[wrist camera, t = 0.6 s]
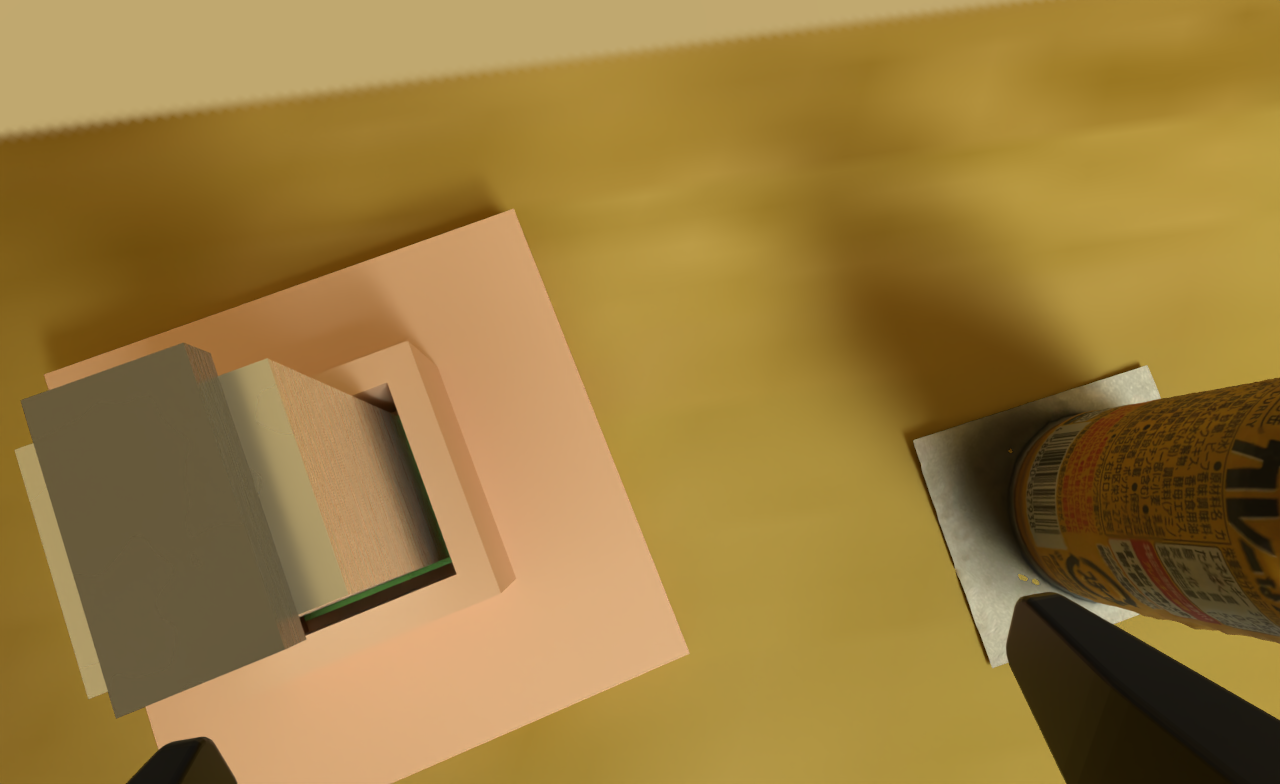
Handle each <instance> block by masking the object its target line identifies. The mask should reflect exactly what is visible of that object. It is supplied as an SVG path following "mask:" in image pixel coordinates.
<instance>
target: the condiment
mask: <svg viewBox="0 0 1280 784" xmlns="http://www.w3.org/2000/svg"><path fill="white" fill-rule="evenodd" d="M913 442H914V445H915V449H916V452H917V455H918V458H919V460H920V463H921V468H922V473H923V475H924V478H925V480H926V483H927V486H928V490H929V493H930V495H931V499H932V501H933V504H934V506H935V509H936V512H937V516H938V520H939V523H940V525H941V528H942V531H943V533H944V537H945V539H946V542H947V545H948V547H949V550H950V553H951V556H952V558H953V562H954V565H955V569H956V574H957V576H958V577H959V579H960V582H961V584H962V586H963V588H964V591H965V594H966V596H967V599H968V602H969V605H970V608H971V612H972V615H973V618H974V621H975V624H976V626H977V628H978V630H979V633H980V635H981V638H982V641H983V643H984V646H985V649H986V652H987V655H988V657H989V660H990V663H991V666H992V668H994V667H997V666H1000V665H1003V664H1005V663H1008V659H1007V654H1006V642H1007V637H1008V633H1009V629H1010V624H1011V620H1012V616H1013V611H1014V607H1015V604H1016V602H1017V601H1018V600H1019V598H1020V597H1023V596H1027V595H1032V594H1038V593H1044V592H1055V593H1058V594H1061V595H1063V596H1065V597H1067V598H1068V599H1070V600H1072V601H1074V602H1075V603H1077V604H1079V605H1081V606H1082V607H1084V608H1086V609H1087V610H1089V611H1091V612H1093V613H1094V614H1096V615H1098V616H1100V617H1101V618H1103V619H1105V620H1107V621H1108V622H1110V623H1112V624H1115V623H1118V622H1120V621H1123V620H1126V619H1128V618H1131V617H1134V616H1137V615H1140V614H1141V615H1143V616H1148V617H1153V618H1156V619H1162V620H1172V621H1177V622H1180V623H1182V624H1185V625H1187V626H1189V627H1191V628H1193V629H1206V630H1219V631H1221V632H1223V633H1225V634H1230V635H1244V636H1251V637H1255V638H1258V639H1262V640H1267V641H1272V642H1277V643H1280V378H1274V379H1268V380H1264V381H1260V382H1254V383H1250V384H1242V385H1238V386H1232V387H1226V388H1222V389H1215V390H1210V391H1204V392H1198V393H1192V394H1190V393H1189V394H1186V395H1181V396H1174V397H1171V398H1163V399H1161V398H1160V395H1159V392H1158V389H1157V387H1156V384H1155V382H1154V380H1153V377H1152V375H1151V373H1150V371H1149V368H1148V366H1147V365H1146V366H1143V367H1140V368H1137V369H1134V370H1131V371H1128V372H1124V373H1121V374H1118V375H1115V376H1112V377H1109V378H1105V379H1102V380H1099V381H1096V382H1093V383H1090V384H1087V385H1084V386H1080V387H1077V388H1074V389H1071V390H1068V391H1065V392H1061V393H1058V394H1056V395H1052V396H1049V397H1046V398H1043V399H1040V400H1037V401H1034V402H1030V403H1027V404H1024V405H1021V406H1018V407H1015V408H1012V409H1009V410H1007V411H1003V412H1000V413H996V414H993V415H990V416H987V417H984V418H981V419H978V420H974V421H971V422H967V423H965V424H962V425H959V426H956V427H953V428H950V429H947V430H944V431H941V432H937V433H934V434H931V435H928V436H925V437H922V438H919V439H915V440H913ZM1009 449H1012V451H1013V453H1009V452H1008V450H1009ZM1018 574H1022V575H1025V576H1026V577H1027V578H1028V580H1027V581H1023V580H1020V579H1019V577H1018ZM1034 578H1035V579H1037V580H1038V581H1039V583H1040V585H1037V586H1036V585H1035V584H1033V583H1032V579H1034Z"/></svg>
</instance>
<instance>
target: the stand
mask: <svg viewBox="0 0 1280 784" xmlns="http://www.w3.org/2000/svg"><path fill="white" fill-rule="evenodd" d="M181 343H186V344H189V345H191V346H194V347H196V348H199V349H201V350H204V351H206V352H209V353H211V356H212V359H213V362H214V365H215V368H216V371H217V374H218V376H220V375H222V374H225V373H228V372H231V371H233V370H236V369H239V368H242V367H244V366H247V365H250V364H253V363H255V362H258V361H261V360H264V359H266V358H268V359H270V360H272V361H275V362H277V363H279V364H281V365H284V366H286V367H288V368H290V369H293V370H295V371H297V372H299V373H302V374H304V375H306V376H308V377H311V378H313V379H315V380H317V381H320V382H322V383H324V384H326V385H329V386H331V387H333V388H335V389H338V390H340V391H342V392H344V393H347V394H349V395H351V396H353V397H356V398H358V399H360V400H362V401H365V402H367V403H369V404H371V405H374V406H376V407H378V408H380V409H382V410H385V411H387V412H389V413H391V414H394V415H396V416H398V415H399V417H400V419H401V422H402V425H403V428H404V430H405V433H406V436H407V439H408V441H409V444H410V447H411V450H412V452H413V455H414V458H415V461H416V463H417V466H418V469H419V472H420V474H421V477H422V480H423V483H424V486H425V488H426V491H427V494H428V497H429V499H430V502H431V505H432V508H433V510H434V513H435V516H436V519H437V521H438V524H439V527H440V530H441V532H442V535H443V538H444V541H445V543H446V546H447V549H448V552H449V554H450V557H451V560H452V562H451V563H449V564H446V565H444V566H441V567H439V568H437V569H434V570H432V571H429V572H427V573H424V574H422V575H419V576H417V577H414V578H412V579H409V580H407V581H404V582H402V583H400V584H397V585H395V586H392V587H390V588H387V589H385V590H382V591H380V592H377V593H375V594H372V595H370V596H367V597H365V598H362V599H360V600H358V601H355V602H353V603H350V604H348V605H345V606H343V607H340V608H338V609H335V610H333V611H330V612H328V613H325V614H323V615H321V616H318V617H316V618H313V619H311V620H308V621H306V622H305V619H304V616H303V617H300V618H299V619H300V622H301V625H302V628H303V631H304V634H305V637H306V640H305V641H302V642H300V643H298V644H296V645H294V646H292V647H290V648H288V649H286V650H283V651H281V652H278V653H276V654H273V655H271V656H268V657H266V658H264V659H261V660H259V661H256V662H254V663H251V664H249V665H246V666H244V667H241V668H239V669H237V670H234V671H232V672H229V673H227V674H224V675H222V676H219V677H217V678H215V679H212V680H210V681H207V682H205V683H202V684H200V685H197V686H195V687H192V688H190V689H188V690H185V691H183V692H180V693H178V694H175V695H173V696H170V697H168V698H166V699H163V700H161V701H158V702H156V703H153V704H151V705H148V706H146V710H147V713H148V717H149V720H150V723H151V727H152V730H153V733H154V736H155V740H156V743H157V746H158V750H159V749H160V748H162V747H163V746H164V745H166V744H168V743H170V742H174V741H178V740H184V739H190V738H196V737H207V738H209V739H211V740H213V742H214V743H215V745H216V746H217V748H218V750H219V751H220V753H221V755H222V756H223V758H224V760H225V761H226V763H227V765H228V766H229V768H230V770H231V771H232V773H233V775H234V776H235V778H236V780H237V783H238V784H391V783H394V782H396V781H398V780H400V779H403V778H405V777H407V776H410V775H412V774H414V773H417V772H419V771H421V770H423V769H426V768H428V767H430V766H433V765H435V764H437V763H439V762H442V761H444V760H446V759H449V758H451V757H453V756H456V755H458V754H460V753H462V752H465V751H467V750H469V749H472V748H474V747H476V746H478V745H481V744H483V743H485V742H488V741H490V740H492V739H495V738H497V737H499V736H501V735H504V734H506V733H508V732H511V731H513V730H515V729H518V728H520V727H522V726H524V725H527V724H529V723H531V722H534V721H536V720H538V719H540V718H543V717H545V716H547V715H550V714H552V713H554V712H557V711H559V710H561V709H563V708H566V707H568V706H570V705H573V704H575V703H577V702H579V701H582V700H584V699H586V698H589V697H591V696H593V695H596V694H598V693H600V692H602V691H605V690H607V689H609V688H612V687H614V686H616V685H619V684H621V683H623V682H625V681H628V680H630V679H632V678H635V677H637V676H639V675H641V674H644V673H646V672H648V671H651V670H653V669H655V668H658V667H660V666H662V665H664V664H667V663H669V662H671V661H674V660H676V659H678V658H680V657H683V656H685V655H687V654H690V653H689V651H688V648H687V645H686V643H685V640H684V638H683V635H682V633H681V630H680V628H679V625H678V623H677V620H676V618H675V615H674V613H673V610H672V608H671V605H670V603H669V600H668V597H667V595H666V592H665V590H664V587H663V585H662V582H661V580H660V577H659V575H658V572H657V570H656V567H655V565H654V562H653V560H652V557H651V555H650V552H649V549H648V547H647V544H646V542H645V539H644V537H643V534H642V532H641V529H640V527H639V524H638V522H637V519H636V517H635V514H634V512H633V509H632V507H631V504H630V501H629V499H628V496H627V494H626V491H625V489H624V486H623V484H622V481H621V479H620V476H619V474H618V471H617V469H616V466H615V464H614V461H613V459H612V456H611V453H610V451H609V448H608V446H607V443H606V441H605V438H604V436H603V433H602V431H601V428H600V426H599V423H598V421H597V418H596V416H595V413H594V411H593V408H592V405H591V403H590V400H589V398H588V395H587V393H586V390H585V388H584V385H583V383H582V380H581V378H580V375H579V373H578V370H577V368H576V365H575V363H574V360H573V357H572V355H571V352H570V350H569V347H568V345H567V342H566V340H565V337H564V335H563V332H562V330H561V327H560V325H559V322H558V320H557V317H556V315H555V312H554V309H553V307H552V304H551V302H550V299H549V297H548V294H547V292H546V289H545V287H544V284H543V282H542V279H541V277H540V274H539V272H538V269H537V267H536V264H535V261H534V259H533V256H532V254H531V251H530V249H529V246H528V244H527V241H526V239H525V236H524V234H523V231H522V229H521V226H520V224H519V221H518V219H517V216H516V213H515V211H514V209H511V210H509V211H506V212H503V213H500V214H497V215H495V216H492V217H489V218H486V219H483V220H480V221H478V222H475V223H472V224H469V225H466V226H463V227H461V228H458V229H455V230H452V231H449V232H446V233H444V234H441V235H438V236H435V237H432V238H429V239H427V240H424V241H421V242H418V243H415V244H412V245H410V246H407V247H404V248H401V249H398V250H395V251H393V252H390V253H387V254H384V255H381V256H378V257H376V258H373V259H370V260H367V261H364V262H361V263H359V264H356V265H353V266H350V267H347V268H344V269H342V270H339V271H336V272H333V273H330V274H327V275H325V276H322V277H319V278H316V279H313V280H310V281H308V282H305V283H302V284H299V285H296V286H293V287H291V288H288V289H285V290H282V291H279V292H276V293H274V294H271V295H268V296H265V297H262V298H259V299H257V300H254V301H251V302H248V303H245V304H242V305H240V306H237V307H234V308H231V309H228V310H225V311H223V312H220V313H217V314H214V315H211V316H208V317H206V318H203V319H200V320H197V321H194V322H191V323H189V324H186V325H183V326H180V327H177V328H174V329H172V330H169V331H166V332H163V333H160V334H157V335H155V336H152V337H149V338H146V339H143V340H140V341H138V342H135V343H132V344H129V345H126V346H123V347H121V348H118V349H115V350H112V351H109V352H106V353H104V354H101V355H98V356H95V357H92V358H89V359H87V360H84V361H81V362H78V363H75V364H72V365H70V366H67V367H64V368H61V369H58V370H55V371H53V372H50V373H47V374H44V376H45V380H46V383H47V386H48V389H49V390H51V389H54V388H57V387H60V386H63V385H65V384H68V383H71V382H74V381H77V380H79V379H82V378H85V377H88V376H91V375H93V374H96V373H99V372H102V371H105V370H107V369H110V368H113V367H116V366H119V365H122V364H124V363H127V362H130V361H133V360H136V359H138V358H141V357H144V356H147V355H150V354H152V353H155V352H158V351H161V350H164V349H167V348H169V347H172V346H175V345H178V344H181Z"/></svg>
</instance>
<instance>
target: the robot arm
mask: <svg viewBox="0 0 1280 784" xmlns="http://www.w3.org/2000/svg"><path fill="white" fill-rule="evenodd" d="M1006 654H1007V659H1008V662H1009V665H1010V667H1011V670H1012V672H1013V674H1014V676H1015V678H1016V680H1017V682H1018V684H1019V686H1020V688H1021V691H1022V693H1023V695H1024V697H1025V699H1026V701H1027V703H1028V705H1029V707H1030V709H1031V711H1032V713H1033V716H1034V718H1035V720H1036V722H1037V724H1038V726H1039V728H1040V730H1041V732H1042V734H1043V736H1044V739H1045V741H1046V743H1047V745H1048V747H1049V749H1050V751H1051V753H1052V755H1053V757H1054V759H1055V761H1056V764H1057V766H1058V768H1059V770H1060V772H1061V774H1062V776H1063V778H1064V780H1065V782H1066V784H1280V720H1278V719H1277V718H1275V717H1273V716H1271V715H1270V714H1268V713H1266V712H1264V711H1263V710H1261V709H1259V708H1258V707H1256V706H1254V705H1252V704H1251V703H1249V702H1247V701H1245V700H1244V699H1242V698H1240V697H1238V696H1237V695H1235V694H1233V693H1232V692H1230V691H1228V690H1226V689H1225V688H1223V687H1221V686H1219V685H1218V684H1216V683H1214V682H1212V681H1211V680H1209V679H1207V678H1205V677H1204V676H1202V675H1200V674H1199V673H1197V672H1195V671H1193V670H1192V669H1190V668H1188V667H1186V666H1185V665H1183V664H1181V663H1179V662H1178V661H1176V660H1174V659H1173V658H1171V657H1169V656H1167V655H1166V654H1164V653H1162V652H1160V651H1159V650H1157V649H1155V648H1153V647H1152V646H1150V645H1148V644H1146V643H1145V642H1143V641H1141V640H1140V639H1138V638H1136V637H1134V636H1133V635H1131V634H1129V633H1127V632H1126V631H1124V630H1122V629H1120V628H1119V627H1117V626H1115V625H1113V624H1112V623H1110V622H1108V621H1107V620H1105V619H1103V618H1101V617H1100V616H1098V615H1096V614H1094V613H1093V612H1091V611H1089V610H1087V609H1086V608H1084V607H1082V606H1081V605H1079V604H1077V603H1075V602H1074V601H1072V600H1070V599H1068V598H1067V597H1065V596H1063V595H1061V594H1058V593H1055V592H1044V593H1038V594H1032V595H1027V596H1023V597H1020V598H1019V600H1018V601H1017V602H1016V604H1015V607H1014V611H1013V616H1012V620H1011V624H1010V629H1009V633H1008V637H1007V642H1006ZM126 784H238V783H237V780H236V778H235V776H234V775H233V773H232V771H231V770H230V768H229V766H228V765H227V763H226V761H225V760H224V758H223V756H222V755H221V753H220V751H219V750H218V748H217V746H216V745H215V743H214V742H213V740H211V739H209V738H207V737H196V738H190V739H184V740H178V741H174V742H170V743H168V744H166V745H164V746H163V747H162V748H160V749H159V750H158V751H157V752H156V753H155V754H154V755H153V756H152V757H151V758H150V759H149V760H148V761H147V762H146V763H145V764H144V765H143V766H142V767H141V768H140V770H139V771H138V772H137V773H136V774H135V775H134V776H133V777H132V778H131V779H130V780H129V781H128V782H127V783H126Z"/></svg>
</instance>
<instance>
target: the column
mask: <svg viewBox="0 0 1280 784" xmlns="http://www.w3.org/2000/svg"><path fill="white" fill-rule="evenodd" d="M21 404H22V407H23V410H24V414H25V417H26V420H27V424H28V427H29V430H30V434H31V437H32V440H33V443H32V444H29V445H27V446H24V447H21V448H18V449H16V450H15V454H16V457H17V460H18V464H19V467H20V470H21V474H22V477H23V480H24V484H25V487H26V491H27V494H28V497H29V501H30V504H31V507H32V511H33V514H34V518H35V521H36V524H37V528H38V531H39V534H40V538H41V541H42V545H43V548H44V551H45V555H46V558H47V561H48V565H49V568H50V571H51V575H52V578H53V582H54V585H55V588H56V592H57V595H58V598H59V602H60V605H61V609H62V612H63V615H64V619H65V622H66V625H67V629H68V632H69V636H70V639H71V642H72V646H73V649H74V652H75V656H76V659H77V662H78V666H79V669H80V673H81V676H82V679H83V683H84V686H85V689H86V693H87V696H88V699H91V698H93V697H96V696H98V695H101V694H103V693H106V692H108V693H109V697H110V700H111V703H112V707H113V710H114V713H115V717H116V719H117V718H119V717H121V716H124V715H126V714H129V713H131V712H134V711H136V710H139V709H141V708H143V707H146V706H148V705H151V704H153V703H156V702H158V701H161V700H163V699H166V698H168V697H170V696H173V695H175V694H178V693H180V692H183V691H185V690H188V689H190V688H192V687H195V686H197V685H200V684H202V683H205V682H207V681H210V680H212V679H215V678H217V677H219V676H222V675H224V674H227V673H229V672H232V671H234V670H237V669H239V668H241V667H244V666H246V665H249V664H251V663H254V662H256V661H259V660H261V659H264V658H266V657H268V656H271V655H273V654H276V653H278V652H281V651H283V650H286V649H288V648H290V647H292V646H294V645H296V644H298V643H300V642H302V641H305V640H306V637H305V634H304V631H303V628H302V625H301V622H300V619H299V618H300V617H303V616H304V619H305V622H306V621H308V620H311V619H313V618H316V617H318V616H321V615H323V614H325V613H328V612H330V611H333V610H335V609H338V608H340V607H343V606H345V605H348V604H350V603H353V602H355V601H358V600H360V599H362V598H365V597H367V596H370V595H372V594H375V593H377V592H380V591H382V590H385V589H387V588H390V587H392V586H395V585H397V584H400V583H402V582H404V581H407V580H409V579H412V578H414V577H417V576H419V575H422V574H424V573H427V572H429V571H432V570H434V569H437V568H439V567H441V566H444V565H446V564H449V563H451V562H452V560H451V557H450V554H449V552H448V549H447V546H446V543H445V541H444V538H443V535H442V532H441V530H440V527H439V524H438V521H437V519H436V516H435V513H434V510H433V508H432V505H431V502H430V499H429V497H428V494H427V491H426V488H425V486H424V483H423V480H422V477H421V474H420V472H419V469H418V466H417V463H416V461H415V458H414V455H413V452H412V450H411V447H410V444H409V441H408V439H407V436H406V433H405V430H404V428H403V425H402V422H401V419H400V417H399V415H398V416H396V415H394V414H391V413H389V412H387V411H385V410H382V409H380V408H378V407H376V406H374V405H371V404H369V403H367V402H365V401H362V400H360V399H358V398H356V397H353V396H351V395H349V394H347V393H344V392H342V391H340V390H338V389H335V388H333V387H331V386H329V385H326V384H324V383H322V382H320V381H317V380H315V379H313V378H311V377H308V376H306V375H304V374H302V373H299V372H297V371H295V370H293V369H290V368H288V367H286V366H284V365H281V364H279V363H277V362H275V361H272V360H270V359H268V358H266V359H264V360H261V361H258V362H255V363H253V364H250V365H247V366H244V367H242V368H239V369H236V370H233V371H231V372H228V373H225V374H222V375H220V376H218V374H217V371H216V368H215V365H214V362H213V359H212V356H211V353H209V352H206V351H204V350H201V349H199V348H196V347H194V346H191V345H189V344H186V343H181V344H178V345H175V346H172V347H169V348H167V349H164V350H161V351H158V352H155V353H152V354H150V355H147V356H144V357H141V358H138V359H136V360H133V361H130V362H127V363H124V364H122V365H119V366H116V367H113V368H110V369H107V370H105V371H102V372H99V373H96V374H93V375H91V376H88V377H85V378H82V379H79V380H77V381H74V382H71V383H68V384H65V385H63V386H60V387H57V388H54V389H51V390H48V391H46V392H43V393H40V394H37V395H34V396H32V397H29V398H26V399H23V400H21Z"/></svg>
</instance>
